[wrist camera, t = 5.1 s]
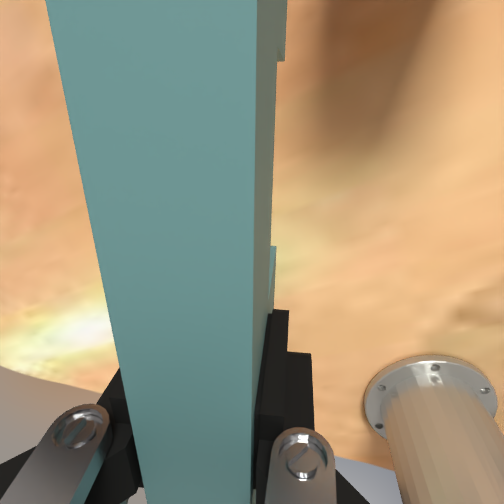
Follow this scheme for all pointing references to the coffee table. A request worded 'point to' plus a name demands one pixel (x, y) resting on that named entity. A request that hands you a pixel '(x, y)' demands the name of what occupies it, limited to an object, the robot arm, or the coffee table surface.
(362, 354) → the coffee table surface
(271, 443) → the robot arm
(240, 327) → the teal plate
